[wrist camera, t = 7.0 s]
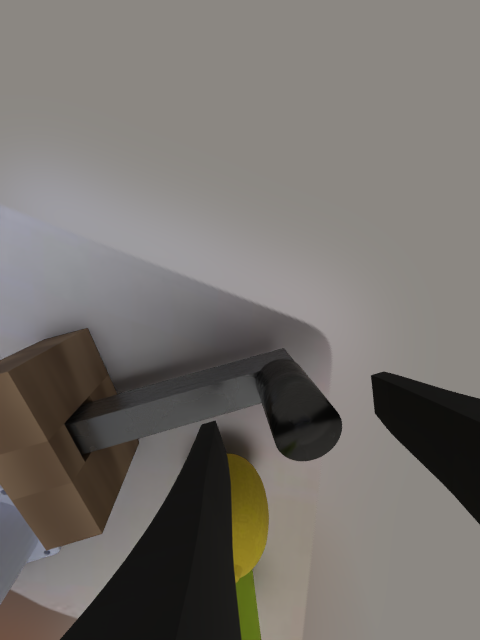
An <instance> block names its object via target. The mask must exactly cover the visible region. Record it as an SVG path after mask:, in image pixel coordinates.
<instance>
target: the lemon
mask: <svg viewBox="0 0 480 640" xmlns="http://www.w3.org/2000/svg"><path fill="white" fill-rule="evenodd" d="M227 457H228V463H229V471H230V479H231V500H232V537H233V561H234V572H235V582H236V583H237V582H238V580H239V578H241V577H243V576H245V575H246V574H247V573H249V572H250V571H251V570H252V569H253V568H254V566H255V565H256V564H257V562H258V561H259V559H260V557H261V555H262V553H263V551H264V549H265V545H266V541H267V535H268V524H269V513H268V503H267V498H266V493H265V489H264V486H263V483H262V480H261V478H260V476H259V475H258V473H257V471H256V469H255V468H254V467H253V465H251V464H250V463H249V462H248V461H247V460H246V459H244V458H242V457H240V456H239V455H235V454H227Z"/></svg>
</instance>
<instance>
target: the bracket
mask: <svg viewBox="0 0 480 640" xmlns="http://www.w3.org/2000/svg"><path fill="white" fill-rule="evenodd" d="M113 395H117V392H116V390H115V388H114V386H113V384H112V381H111V379H110V377H109V375H108V372H107V370H106V368H105V366H104V364H103V361H102V359H101V357H100V355H99V353H98V350H97V348H96V346H95V344H94V341H93V339H92V337H91V335H90V333H89V330H88V328H86V329H82V330H78V331H75V332H71V333H67V334H63V335H60V336H56V337H52V338H48V339H44V340H42V341H40V342H38V343H36V344H34V345H32V346H29V347H27V348H25V349H23V350H21V351H19V352H17V353H15V354H13V355H10V356H8V357H6V358H4V359H2V360H0V485H1V486H2V488H3V489H4V491H5V492H6V494H7V495H8V496H9V498H10V499H11V501H12V502H13V504H14V505H15V506H16V508H17V509H18V511H19V512H20V514H21V515H22V516H23V518H24V519H25V521H26V522H27V524H28V525H29V526H30V528H31V529H32V531H33V532H34V534H35V535H36V536H37V538H38V539H39V541H40V542H41V544H42V545H43V547H44V548H45V549H46V551H47V550H50V549H53V548H57V547H60V546H63V545H67V544H70V543H73V542H76V541H80V540H83V539H86V538H90V537H93V536H96V535H100V534H102V533H103V530H104V528H105V525H106V523H107V520H108V518H109V515H110V513H111V511H112V508H113V506H114V503H115V501H116V498H117V496H118V493H119V491H120V488H121V486H122V483H123V481H124V478H125V476H126V473H127V471H128V469H129V466H130V464H131V461H132V459H133V456H134V454H135V451H136V449H137V446H138V444H139V441H138V439H135V440H131V441H128V442H124V443H121V444H118V445H114V446H111V447H107V448H104V449H100V450H97V451H93V452H90V453H86V454H83V455H81V454H80V452H79V450H78V448H77V447H76V445H75V443H74V441H73V439H72V437H71V436H70V434H69V432H68V430H67V428H66V426H65V425H64V423H65V422H66V421H67V420H68V419H69V418H70V416H71V415H72V414H73V413H74V412H75V411H76V410H77V409H78V408H79V407H80V405H81V404H84V403H88V402H92V401H95V400H99V399H102V398H106V397H110V396H113Z"/></svg>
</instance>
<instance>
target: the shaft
mask: <svg viewBox="0 0 480 640" xmlns="http://www.w3.org/2000/svg"><path fill="white" fill-rule="evenodd" d="M260 403H262V405H263V408H264V411H265V414H266V417H267V420H268V423H269V426H270V429H271V432H272V435H273V438H274V441H275V444H276V446H277V448H278V450H279V451H280V452H281V453H282V454H283V455H284V456H285V457H287V458H289V459H292V460H296V461H309V460H314V459H317V458H319V457H321V456H323V455H325V454H326V453H327V452H329V451H330V450H331V449H332V448H333V447H334V446H335V445H336V443H337V441H338V440H339V438H340V435H341V431H342V421H341V418H340V415H339V414H338V412H337V411H336V410H335V408H333V406H332V405H331V404H330V403H329V401H328V400H327V399H326V397H325V396H324V395H323V394H322V393H321V391H320V390H319V389H318V388H317V386H316V385H315V384H314V383H313V382H312V380H311V379H310V378H309V377H308V375H307V374H306V373H305V372H304V370H303V369H302V368H301V367H300V366H299V365H298V364H297V363H296V362H294V360H293V359H292V358H291V356H290V355H289V354H288V353H287V351H286V350H285V349H284V348H282V349H279V350H275V351H272V352H268V353H264V354H261V355H257V356H254V357H250V358H246V359H243V360H239V361H236V362H232V363H228V364H225V365H221V366H218V367H214V368H210V369H207V370H203V371H200V372H196V373H192V374H189V375H185V376H182V377H178V378H174V379H171V380H167V381H164V382H160V383H156V384H153V385H149V386H146V387H142V388H138V389H135V390H131V391H128V392H124V393H120V394H117V395H113V396H110V397H106V398H102V399H99V400H95V401H92V402H88V403H84V404H81V405H80V407H79V408H78V409H77V410H76V411H75V412H74V413H73V414H72V415H71V416H70V418H69V419H68V420H67V421H66V422H65V423H64V425H65V426H66V428H67V430H68V432H69V434H70V436H71V437H72V439H73V441H74V443H75V445H76V447H77V448H78V450H79V452H80V454H81V455H83V454H86V453H90V452H93V451H97V450H100V449H104V448H107V447H111V446H114V445H118V444H121V443H124V442H128V441H131V440H135V439H138V438H142V437H145V436H149V435H152V434H156V433H159V432H163V431H166V430H170V429H173V428H177V427H180V426H184V425H187V424H191V423H194V422H198V421H201V420H204V419H208V418H211V417H215V416H218V415H222V414H225V413H229V412H232V411H236V410H239V409H243V408H246V407H250V406H253V405H257V404H260Z"/></svg>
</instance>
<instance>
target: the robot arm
mask: <svg viewBox="0 0 480 640" xmlns="http://www.w3.org/2000/svg"><path fill="white" fill-rule="evenodd" d="M371 380H372V389H373V399H374V409H375V414H376V415H377V416H378V418H379V419H380V420H381V422H382V423H383V424H384V425H385V426H386V428H387V429H388V430H389V431H390V432H391V434H393V435H394V437H395V438H396V439H397V440H398V441H399V442H400V443H402V445H404V446H405V447H406V448H407V449H408V450H409V451H410V452H411V453H412V454H413V455H414V456H415V457H416V458H417V459H418V460H419V461H420V462H421V463H422V464H423V465H424V466H425V467H426V468H427V469H428V470H429V471H430V472H431V473H432V474H433V475H434V476H436V478H437V479H439V480H440V481H441V482H442V483H443V484H444V486H446V487H447V489H448V490H449V491H451V493H452V494H453V495H454V496H455V497H456V498H457V499H458V500H459V502H460V503H461V504H462V505H463V506H464V507H465V508H466V509H467V511H468V512H469V513H470V514H471V515H472V516H473V517H474V518H475V519H476V521H477V522H478V523H479V524H480V399H479V398H475V397H471V396H467V395H463V394H459V393H456V392H452V391H448V390H445V389H442V388H438V387H435V386H431V385H428V384H425V383H422V382H418V381H415V380H412V379H409V378H405V377H402V376H399V375H395V374H391V373H387V372H381V373H377V374H374V375H371ZM61 547H62V546H60V547H57V548H53V549H50V550H47V551H46V549H45V548H44V547H43V545H42V544H41V542H40V541H39V539H38V538H37V536H36V535H35V534H34V532H33V531H32V529H31V528H30V526H29V525H28V524H27V522H26V521H25V519H24V518H23V516H22V515H21V514H20V512H19V511H18V509H17V508H16V506H15V505H14V504H13V502H12V501H11V499H10V498H9V496H8V495H7V494H6V492H5V491H4V489H3V488H2V486H1V485H0V604H1V603H2V601H3V600H4V598H5V596H6V595H7V593H8V591H9V590H10V588H11V587H12V585H13V583H14V582H15V580H16V578H17V577H18V575H19V574H20V572H21V570H22V569H23V567H24V566H25V564H26V563H28V562H31V561H35V560H38V559H41V558H45V557H48V556H51V555H54V554H57V553H58V552H59V551H60V549H61ZM60 640H242V639H241V630H240V621H239V611H238V602H237V592H236V582H235V572H234V561H233V537H232V500H231V479H230V471H229V463H228V457H227V454H226V451H225V448H224V445H223V442H222V438H221V435H220V432H219V429H218V426H217V423H216V421H212V422H209V423H206V424H202V425H201V427H200V429H199V432H198V434H197V437H196V439H195V441H194V444H193V446H192V448H191V451H190V453H189V455H188V457H187V459H186V461H185V463H184V465H183V468H182V470H181V472H180V474H179V475H178V477H177V479H176V481H175V483H174V485H173V487H172V489H171V490H170V492H169V494H168V496H167V498H166V499H165V501H164V503H163V504H162V506H161V508H160V509H159V511H158V513H157V514H156V516H155V517H154V519H153V521H152V522H151V524H150V525H149V527H148V528H147V530H146V531H145V533H144V534H143V536H142V537H141V538H140V540H139V541H138V543H137V544H136V546H135V547H134V548H133V550H132V551H131V553H130V554H129V555H128V557H127V558H126V560H125V561H124V562H123V564H122V565H121V566H120V567H119V569H118V570H117V571H116V573H115V574H114V575H113V577H112V578H111V579H110V580H109V582H108V583H107V584H106V585H105V587H104V588H103V589H102V590H101V592H100V593H99V594H98V595H97V597H96V598H95V599H94V600H93V602H92V603H91V604H90V605H89V606H88V608H87V609H86V610H85V611H84V612H83V614H82V615H81V616H80V617H79V618H78V619H77V621H76V622H75V623H74V624H73V625H72V626H71V628H70V629H69V630H68V631H67V632H66V633H65V635H63V637H62V638H61V639H60Z"/></svg>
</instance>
